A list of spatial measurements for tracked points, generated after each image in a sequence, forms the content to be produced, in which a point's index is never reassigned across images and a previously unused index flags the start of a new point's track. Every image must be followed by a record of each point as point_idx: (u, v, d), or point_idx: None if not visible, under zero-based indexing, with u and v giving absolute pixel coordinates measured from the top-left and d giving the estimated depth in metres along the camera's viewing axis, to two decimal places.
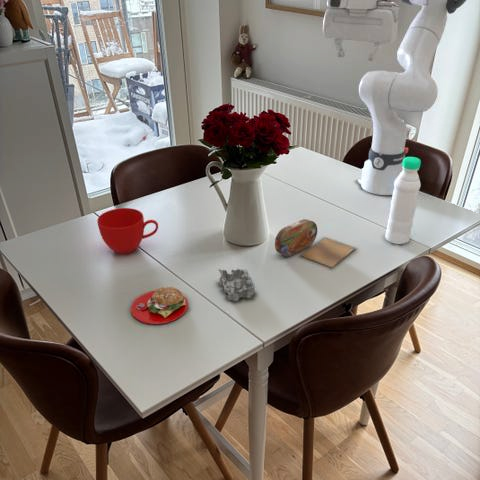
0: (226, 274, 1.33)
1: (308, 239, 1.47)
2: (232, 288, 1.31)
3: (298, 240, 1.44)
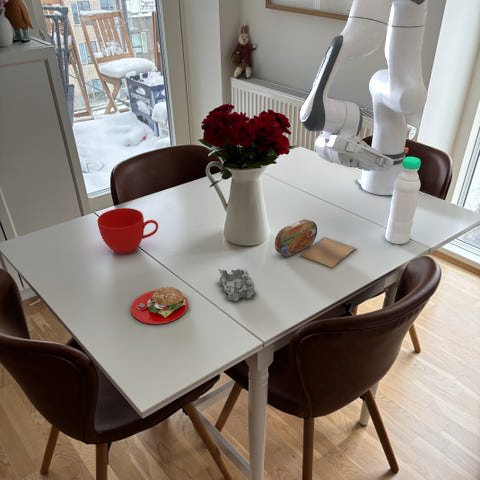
0: (226, 274, 1.33)
1: (308, 239, 1.47)
2: (232, 288, 1.31)
3: (298, 240, 1.44)
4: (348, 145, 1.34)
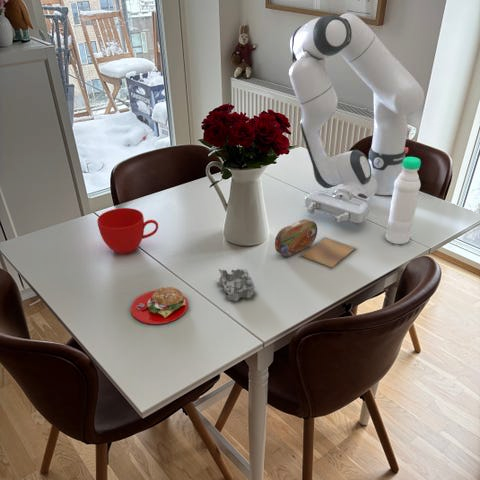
0: (226, 274, 1.33)
1: (308, 239, 1.47)
2: (232, 288, 1.31)
3: (298, 240, 1.44)
4: None
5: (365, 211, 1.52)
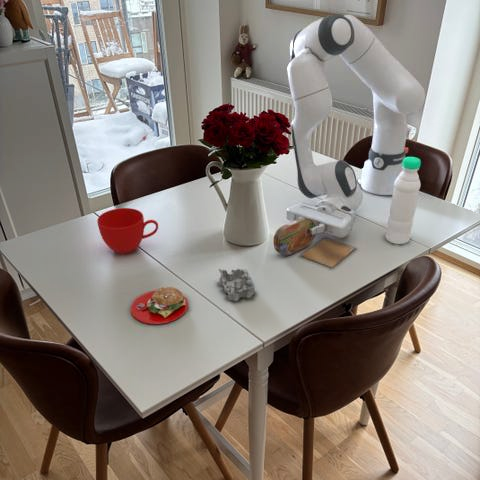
0: (226, 274, 1.33)
1: (307, 238, 1.47)
2: (232, 288, 1.31)
3: (297, 239, 1.44)
4: None
5: (348, 225, 1.46)
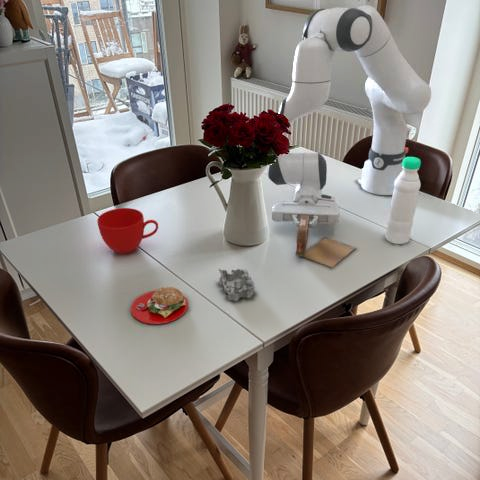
0: (226, 274, 1.33)
1: None
2: (232, 288, 1.31)
3: None
4: (292, 217, 1.49)
5: None
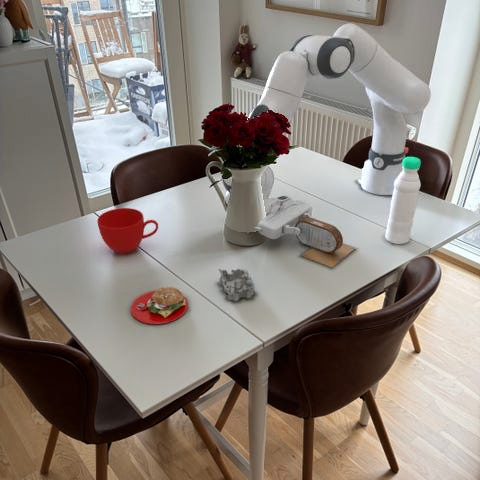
0: (226, 274, 1.33)
1: None
2: (232, 288, 1.31)
3: None
4: (286, 229, 1.44)
5: None
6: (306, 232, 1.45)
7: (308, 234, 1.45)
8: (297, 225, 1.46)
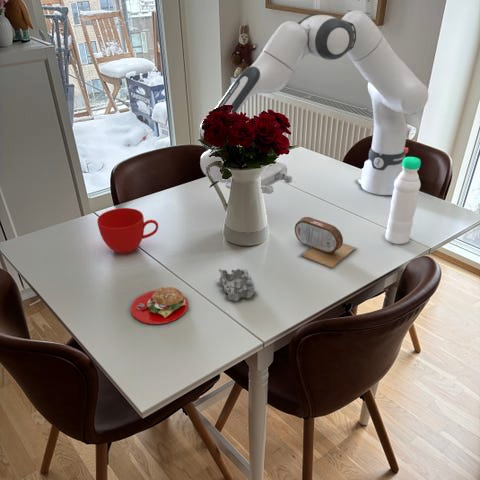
0: (226, 274, 1.33)
1: None
2: (232, 288, 1.31)
3: None
4: None
5: None
6: (306, 232, 1.45)
7: (308, 234, 1.45)
8: (297, 225, 1.46)
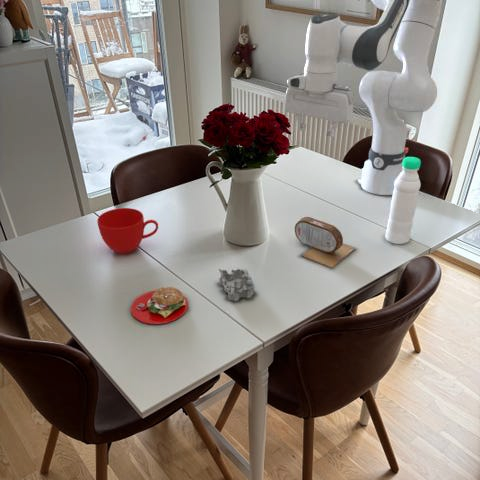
0: (226, 274, 1.33)
1: None
2: (232, 288, 1.31)
3: None
4: (338, 123, 1.38)
5: None
6: (306, 232, 1.45)
7: (308, 234, 1.45)
8: (297, 225, 1.46)
